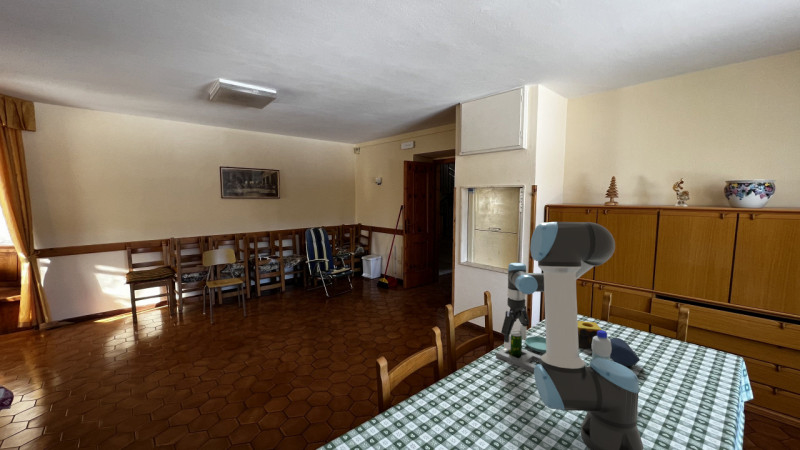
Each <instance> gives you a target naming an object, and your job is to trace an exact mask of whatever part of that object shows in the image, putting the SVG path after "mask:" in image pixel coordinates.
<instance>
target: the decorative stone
mask: <svg viewBox="0 0 800 450" xmlns="http://www.w3.org/2000/svg"><path fill="white" fill-rule="evenodd" d="M609 339H610V341H611V347H612V350H611V354H610V360H611V361H613V362H616V363H619V364H621V365H623V366H625V367H632V366H634V365H636V364H638V363H639V362H640V360H641V359H640V358H639V356H638V354H637V353H636V352H635V350H633V349H632V347H631V346H630V345H629V343H627V342H626V341H625V340H623V339H622V338H620V337H612V338H609Z"/></svg>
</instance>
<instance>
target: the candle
mask: <svg viewBox="0 0 800 450" xmlns="http://www.w3.org/2000/svg"><path fill="white" fill-rule="evenodd" d="M577 321H578V345H579V349H589V350H592V345H591V344H592V340H593V337H594V336H597V331H599V330H602V328H601V327H600V326H599V325H598V323H597V322H594V321H593V322H592V321H585V320H584V321H583V320H577Z"/></svg>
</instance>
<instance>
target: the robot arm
mask: <svg viewBox="0 0 800 450" xmlns="http://www.w3.org/2000/svg"><path fill="white" fill-rule="evenodd" d="M615 249H616V241H615V238H614V237H613V234H612V233H611V232H610V231H609V230H608V228H606V227H605V226H603V225H601V224H598V223H596V222H590V221H586V222H583V221H581V222H578V221H577V222H576V221H575V222H574V221H573V222H572V221H551V222H548V221H547V222H541V223H539V224H538V225H537V226H536V227H535V228H534V230H533V233H532V235H531V239H530V249H529V250H530V255H531V258H532V260H533V261H535V262H537V267H538V268H539V269H540V270H541V271H543V272H542V273H541V272H538V273H537V272H536V273H535V272H527V265H526V264H525V263H522V262H511V263H509V264H508V266H507V267H508V268H507V300H506V301H507V304H506V305H507V306H508V307H509V311H507V310H506V311H505V316H504V320H503V324H502V326H501V327H502V328H501V330H500V331H501V332H500V333H501V334H502V335H503V336H504V337H503V338H504V339H503V340H504V342H503V343H504V344H503V348H506V349H509V350H511V335H510V333H511V330H513V327H514V325H515V322H517V320H518V321H519V322H520V325H519V331H521V332H522V341H524V342H525V341H526V338H527V327H529V326H530V319H529V315H528V311H527V305H526V299H525V298H526V295H532V294H534V293H536V292H537V293H539V292H540V293H543V295H544V320H545V338H546V353H543V354H542V355H540V356H541V363H537V364H535V365H536V366H535V369H534V372H533V375H534V382H535V386H536V389H537V393H538V396H539V397H540V399H541V402H542V403H543V404H544V405H545V407H547V408H548V409H551V410H558V411H559V410H561V411H562V412H564V411H574V412H575V411H578V412H586V414H585V415H584V418H583V420H582V422H581V426H580V436H581V439H582V441H583V442H584V444H585V445H586V446H588V448H590V450H644V444H643V441H642V437H641V434H640V431H639V427H638V426H637V424H638V423H637V422H638V409H639V393H640V385H639V383H640V382H639V378H638V376H637V374H636V373H635V372H633V370H632V369H630V368H628V366H623V365H621V364H619V363H616V362H614V361H613V360H611V359H610V360H606V359H600V358H595V359H593V360H592V359H591V360H590V362H589V366H587V365H586V362H585V361H584V360H583V359H582V358H581V357H580V350H579V349H580V348H579V345H578V321H579V320H578V302H577V280H578V279H579V278H581V277H582V276H583V275H584V274H586V273H588V271H590V270H591V269H592V268H593V267H598V266H601V265H603V264H605V263H606V262H607V261H609V260H610V259H611V258H612V256H613V254H614V253H615Z"/></svg>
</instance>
